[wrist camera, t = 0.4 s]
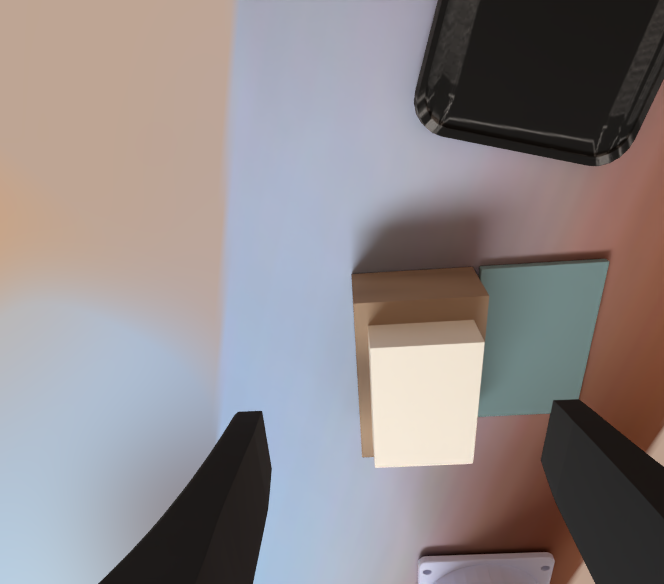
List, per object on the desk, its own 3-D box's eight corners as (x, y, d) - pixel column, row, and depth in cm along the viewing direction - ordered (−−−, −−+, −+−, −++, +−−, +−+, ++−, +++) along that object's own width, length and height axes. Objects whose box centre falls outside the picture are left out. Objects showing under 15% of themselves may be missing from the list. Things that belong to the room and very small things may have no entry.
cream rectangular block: (464, 436, 21) (472, 463, 19) (372, 440, 21) (375, 468, 20) (473, 319, 18) (484, 342, 17) (367, 325, 18) (370, 348, 17)
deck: (461, 413, 23) (474, 452, 21) (359, 418, 24) (362, 457, 21) (472, 266, 20) (489, 296, 17) (351, 274, 20) (353, 303, 18)
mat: (572, 407, 23) (575, 412, 23) (467, 413, 23) (468, 417, 23) (605, 258, 19) (609, 261, 19) (479, 266, 20) (481, 269, 19)
